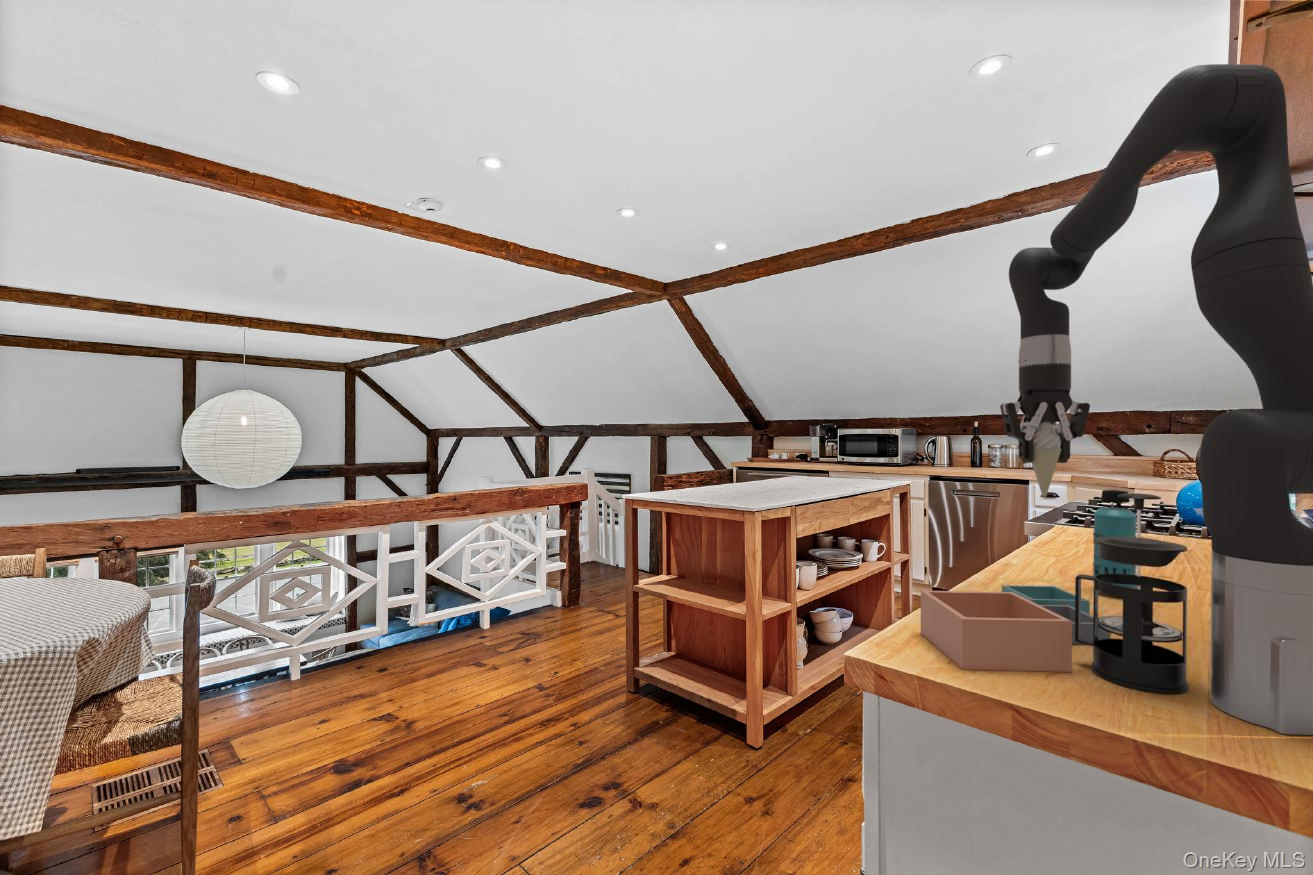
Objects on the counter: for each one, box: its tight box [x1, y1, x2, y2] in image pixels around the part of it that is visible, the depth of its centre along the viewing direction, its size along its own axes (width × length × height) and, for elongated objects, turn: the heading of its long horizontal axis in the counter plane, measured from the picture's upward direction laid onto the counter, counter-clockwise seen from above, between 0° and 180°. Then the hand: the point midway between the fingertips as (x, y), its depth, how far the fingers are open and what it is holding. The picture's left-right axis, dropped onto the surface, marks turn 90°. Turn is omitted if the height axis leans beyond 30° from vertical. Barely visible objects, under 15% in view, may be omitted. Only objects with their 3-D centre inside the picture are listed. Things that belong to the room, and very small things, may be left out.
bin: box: [920, 590, 1073, 673], centre depth 81 cm, size 14×14×6 cm
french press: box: [1074, 492, 1190, 695], centre depth 73 cm, size 12×9×23 cm
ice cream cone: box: [1031, 421, 1062, 498], centre depth 100 cm, size 5×5×15 cm
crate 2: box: [1040, 605, 1112, 645], centre depth 88 cm, size 9×9×3 cm
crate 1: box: [1001, 584, 1091, 615], centre depth 100 cm, size 9×9×3 cm
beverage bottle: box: [1092, 489, 1137, 589], centre depth 108 cm, size 6×7×20 cm
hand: (1044, 462), depth 100 cm, fingers closed on ice cream cone, 5 cm apart
